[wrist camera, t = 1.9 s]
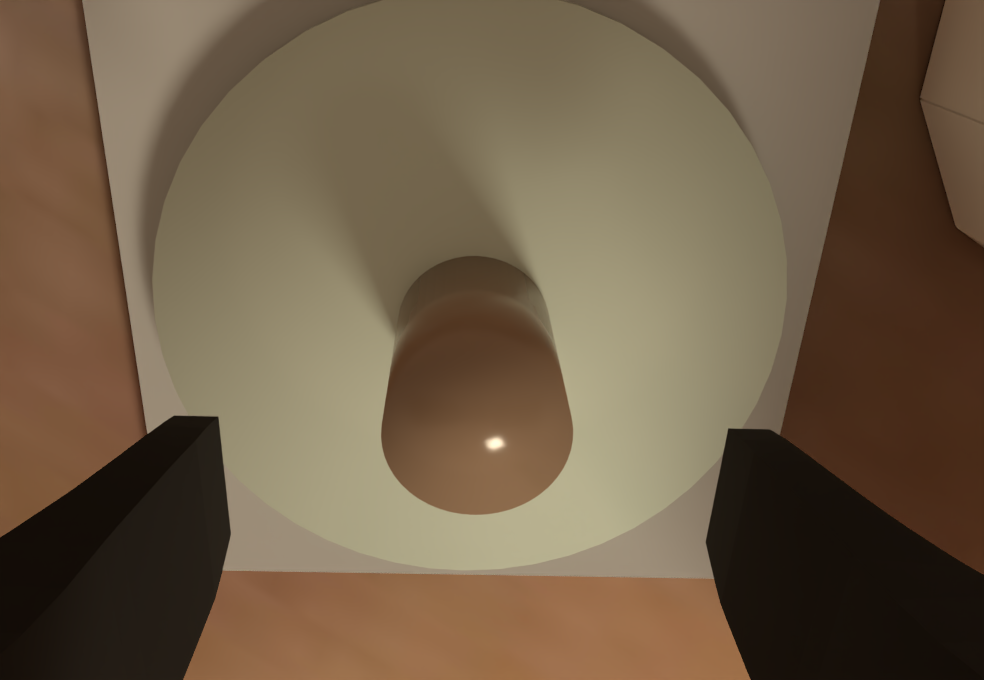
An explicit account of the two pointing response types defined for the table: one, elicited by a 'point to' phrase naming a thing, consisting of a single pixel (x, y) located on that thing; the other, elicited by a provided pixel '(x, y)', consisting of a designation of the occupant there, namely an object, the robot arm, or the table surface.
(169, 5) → the mat
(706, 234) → the lid
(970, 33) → the bowl
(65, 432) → the table surface
